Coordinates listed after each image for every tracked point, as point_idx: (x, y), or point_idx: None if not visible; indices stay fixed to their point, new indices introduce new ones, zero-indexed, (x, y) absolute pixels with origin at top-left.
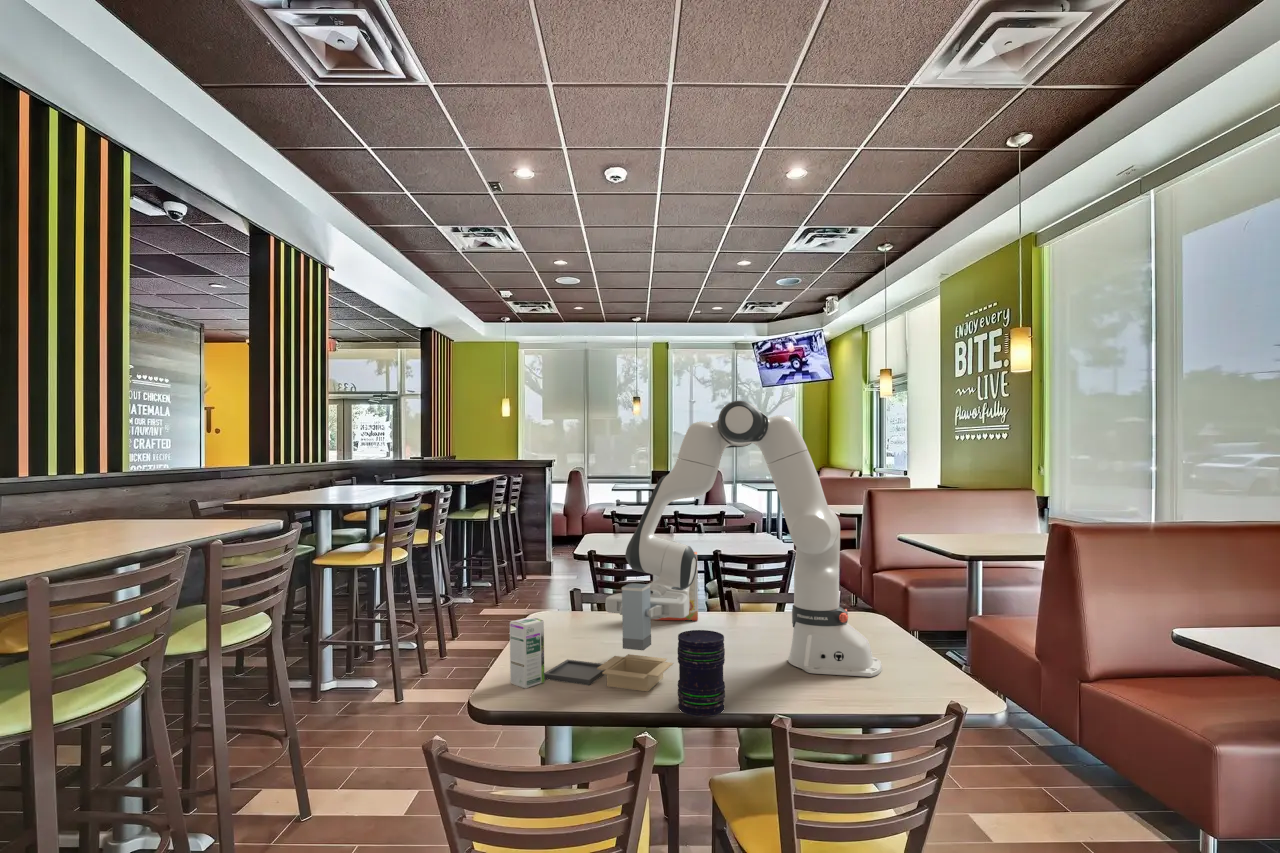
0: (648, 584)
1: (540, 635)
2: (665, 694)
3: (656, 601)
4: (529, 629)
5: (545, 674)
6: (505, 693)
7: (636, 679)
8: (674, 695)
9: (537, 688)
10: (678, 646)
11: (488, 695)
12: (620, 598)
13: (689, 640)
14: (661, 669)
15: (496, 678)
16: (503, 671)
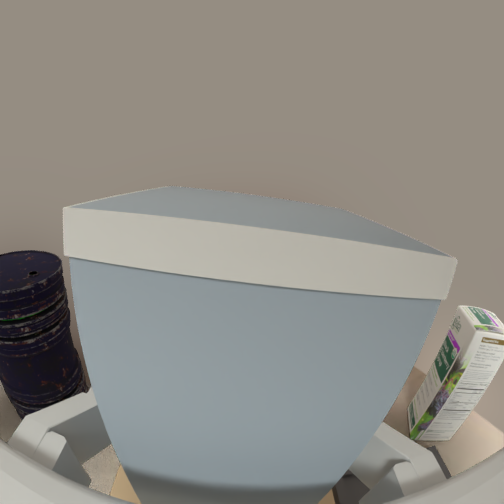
0: (92, 207)
1: (457, 354)
2: (116, 463)
3: (38, 469)
4: (457, 321)
5: (430, 447)
6: (409, 386)
7: None
8: (95, 457)
9: (395, 419)
10: (64, 287)
11: (416, 374)
12: (495, 467)
13: (46, 258)
14: (121, 496)
15: (471, 412)
16: (493, 432)
